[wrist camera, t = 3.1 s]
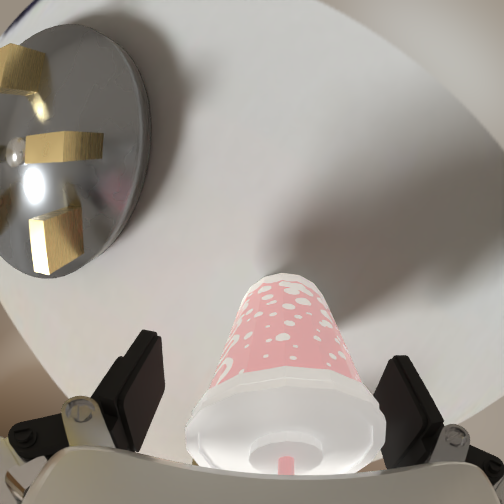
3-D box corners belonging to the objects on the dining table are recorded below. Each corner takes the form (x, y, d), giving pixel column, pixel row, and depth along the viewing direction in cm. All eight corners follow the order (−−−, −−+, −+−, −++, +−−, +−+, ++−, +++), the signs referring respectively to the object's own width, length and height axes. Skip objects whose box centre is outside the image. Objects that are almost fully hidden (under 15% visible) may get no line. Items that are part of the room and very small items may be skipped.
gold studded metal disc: (-5, 62, 11) (-47, 56, 7) (170, 12, 11) (135, -29, 7) (-11, 253, 16) (-51, 273, 12) (147, 287, 16) (108, 331, 11)
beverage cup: (279, 233, 14) (281, 600, 1) (361, 307, 15) (461, 560, 2) (204, 314, 16) (101, 568, 3) (285, 372, 17) (281, 604, 4)
